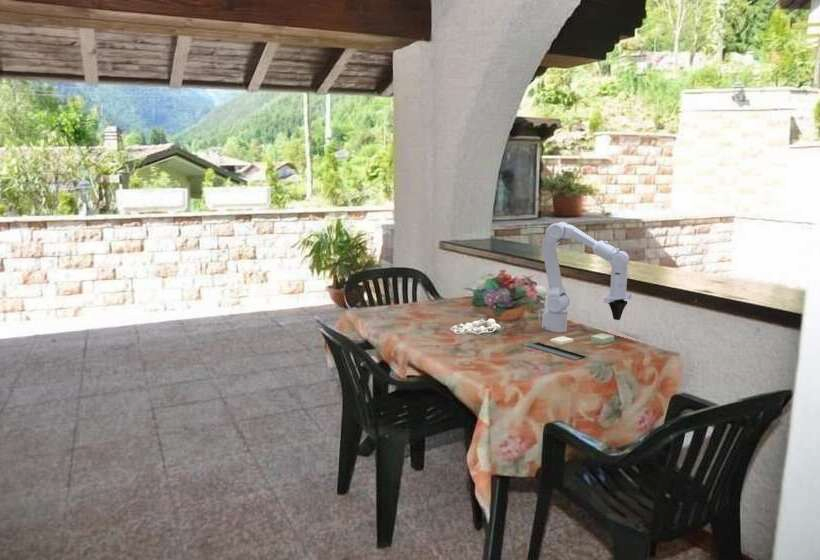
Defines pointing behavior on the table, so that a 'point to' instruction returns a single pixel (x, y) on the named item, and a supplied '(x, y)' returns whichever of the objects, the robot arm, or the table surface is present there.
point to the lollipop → (541, 293)
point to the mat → (556, 351)
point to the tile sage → (602, 338)
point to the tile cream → (561, 340)
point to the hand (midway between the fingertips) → (616, 319)
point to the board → (587, 339)
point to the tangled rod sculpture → (474, 326)
